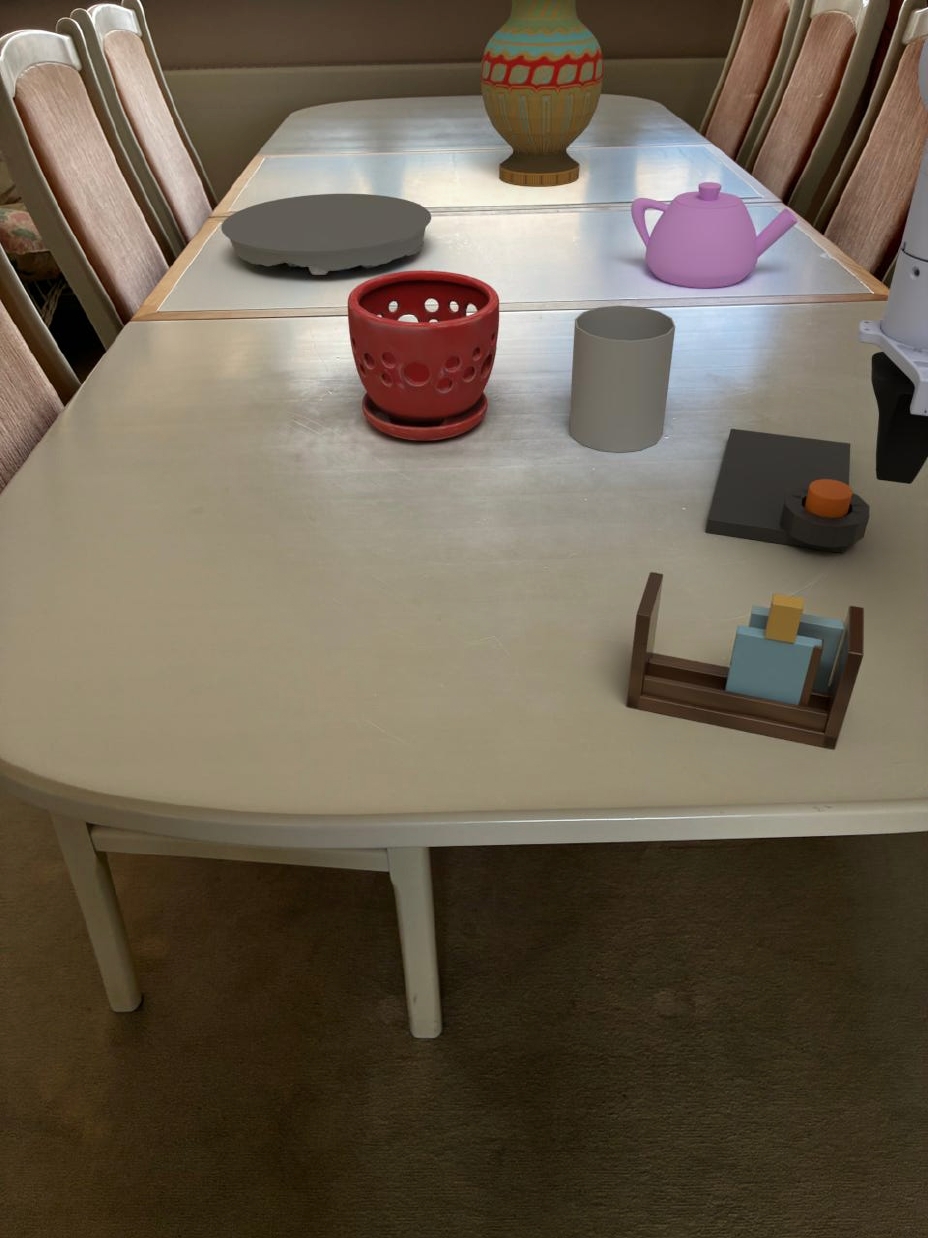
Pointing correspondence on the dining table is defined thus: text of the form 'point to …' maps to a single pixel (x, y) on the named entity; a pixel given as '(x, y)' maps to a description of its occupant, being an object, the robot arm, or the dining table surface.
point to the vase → (541, 89)
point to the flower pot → (424, 352)
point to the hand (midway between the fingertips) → (893, 476)
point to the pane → (776, 656)
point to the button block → (783, 492)
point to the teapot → (705, 237)
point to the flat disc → (328, 231)
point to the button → (828, 498)
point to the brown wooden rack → (704, 697)
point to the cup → (620, 377)
